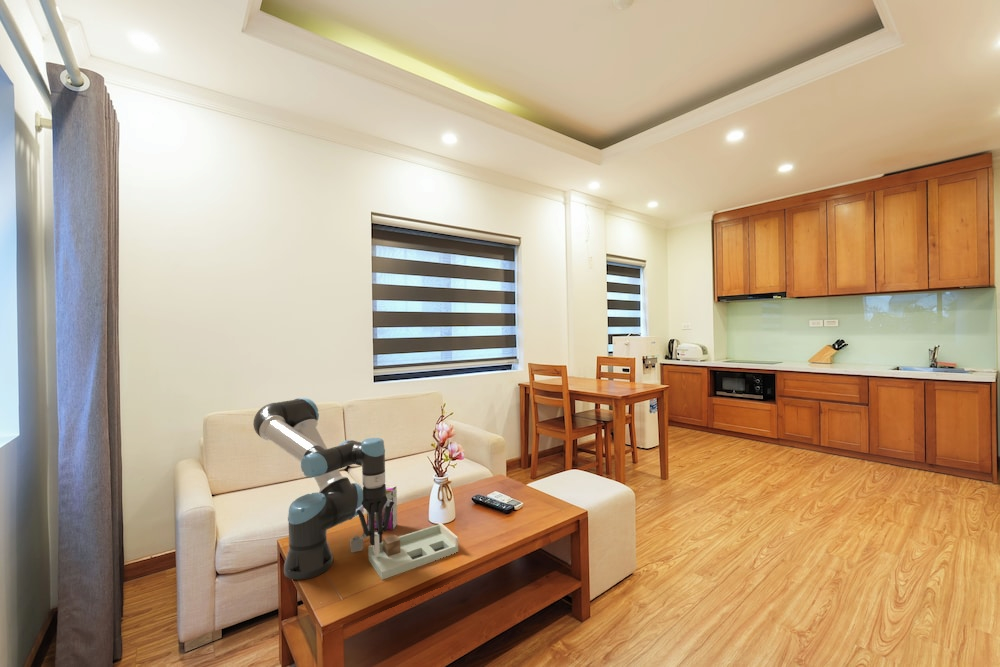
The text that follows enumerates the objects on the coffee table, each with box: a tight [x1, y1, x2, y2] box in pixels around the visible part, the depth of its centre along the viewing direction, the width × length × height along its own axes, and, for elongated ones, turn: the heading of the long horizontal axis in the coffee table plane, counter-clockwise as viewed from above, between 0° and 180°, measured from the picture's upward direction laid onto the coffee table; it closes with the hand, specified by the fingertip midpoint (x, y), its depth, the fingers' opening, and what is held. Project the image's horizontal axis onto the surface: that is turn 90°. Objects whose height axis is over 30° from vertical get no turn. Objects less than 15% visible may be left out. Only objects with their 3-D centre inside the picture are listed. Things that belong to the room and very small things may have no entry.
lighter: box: [349, 526, 369, 554], centre depth 155 cm, size 7×2×8 cm, turn 117°
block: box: [382, 534, 400, 557], centre depth 148 cm, size 4×4×4 cm
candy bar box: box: [366, 485, 398, 531], centre depth 171 cm, size 11×5×16 cm, turn 84°
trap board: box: [367, 522, 459, 581], centre depth 150 cm, size 28×14×6 cm, turn 124°
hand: (376, 552), depth 145 cm, fingers closed
